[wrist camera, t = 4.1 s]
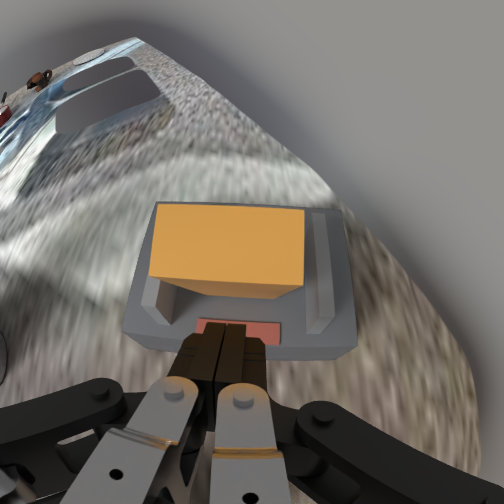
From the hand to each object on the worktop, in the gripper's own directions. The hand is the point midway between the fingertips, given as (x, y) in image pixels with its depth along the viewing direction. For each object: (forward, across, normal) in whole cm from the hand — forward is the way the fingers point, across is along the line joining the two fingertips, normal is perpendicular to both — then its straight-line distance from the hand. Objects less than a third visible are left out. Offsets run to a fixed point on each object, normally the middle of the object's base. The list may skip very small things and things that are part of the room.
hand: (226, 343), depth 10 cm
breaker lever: (+11, 0, +1) cm, 11 cm away
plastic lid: (+85, +73, -63) cm, 129 cm away
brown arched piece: (+70, +85, -49) cm, 121 cm away
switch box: (+16, 0, +5) cm, 17 cm away
